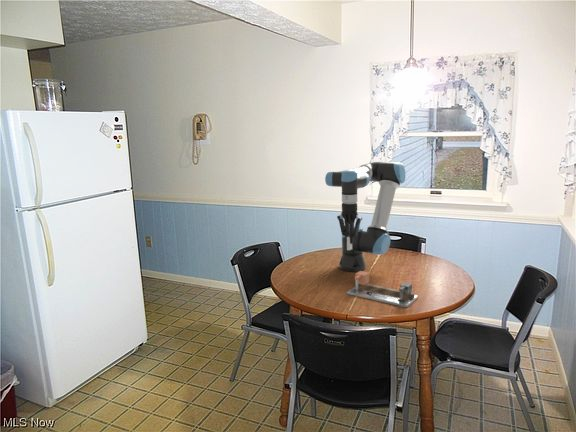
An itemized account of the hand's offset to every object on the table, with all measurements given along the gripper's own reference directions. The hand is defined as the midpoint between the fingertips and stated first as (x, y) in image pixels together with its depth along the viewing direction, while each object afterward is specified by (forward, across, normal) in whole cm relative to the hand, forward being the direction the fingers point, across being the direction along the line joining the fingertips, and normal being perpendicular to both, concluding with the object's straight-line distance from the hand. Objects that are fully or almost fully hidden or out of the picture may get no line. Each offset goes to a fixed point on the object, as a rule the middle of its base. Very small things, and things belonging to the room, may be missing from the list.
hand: (349, 249), depth 211 cm
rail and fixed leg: (+18, +18, -2) cm, 26 cm away
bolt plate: (+20, +18, -2) cm, 27 cm away
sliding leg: (+18, +7, -2) cm, 19 cm away
